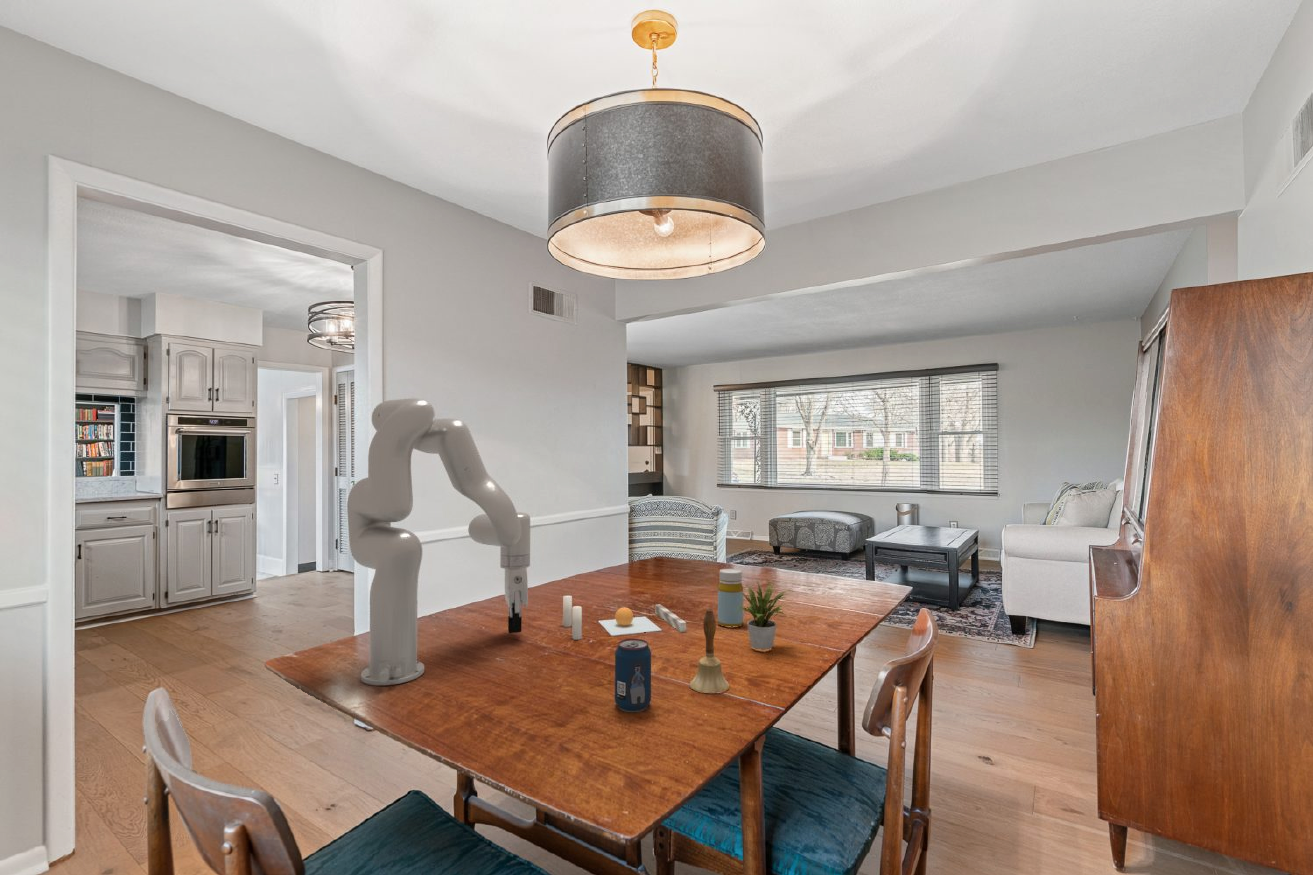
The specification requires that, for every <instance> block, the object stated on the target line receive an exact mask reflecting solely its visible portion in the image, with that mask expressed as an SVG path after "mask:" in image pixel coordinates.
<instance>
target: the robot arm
mask: <svg viewBox="0 0 1313 875" xmlns="http://www.w3.org/2000/svg"><path fill="white" fill-rule="evenodd" d="M435 412H436V411H435V408H434V406H433V405H432V404H431V403H430V402H429V401H428V400H425V399H421V398H417V397H416V398H414V397H413V398H412V397H411V398H402V399H401V398H400V399H389V400H386V401H383V402H382V401H381V403H378V404H377V405H376V406H375V408H374V409H373V411H372V413H371V423H372V426H373V428H374V429H375V431H376V432H375V433H374V434H373V437H372V439H371V441H370V445H369V448H368V455H367V465H368V466H367V468H368V470H367V474H368V476H367V477H365V478H362V479H360V480H358V481H357V482H355V484H354V485H353V486H352V487H351V489H350V491H349V494H348V496H347V504H346V505H347V510H346V512H347V525H348V526H347V527H348V539H349V548H350V553H351V556H352V558H353V560H354V561H355V562H356V563H358V565H360V566H362V567H365V568H369V569H372V570H375V571H374V576H373V579H372V582H371V585H370V590H369V635H368V636H369V637H368V638H369V642H368V643H369V649H368V656H369V657H368V660H369V661H368V667H366V668H365V669H363V670H362V671H361V674H360V680H361V682H362V683H364V684H366V685H371V686H392V685H393V686H394V685H399V684H404V683H407V682H410V681H414V680H415V679H418V678H420V677H421V676H422V675H423V674H424V673H425V665H424V663H423V662H421V661H418V593H419V592H418V590H419V588H418V587H419V586H418V585H419V576H420V575H419V574H420V569H421V564H422V559H423V546H422V542H421V540H420V538H419V537H418V536H417V535H416V534H415V533H414V532H412V531H410V530H407V529H405V528H401V527H395V526H394V527H393V526H391V524H392V523H398V522H401V521H404V520H405V519H406V518H408V517H409V516H410V515H411V512H412V510H413V508H414V507H413V505H414V495H413V482H412V481H413V480H412V454H413V451H414V450H417V451H420V452H423V453H426V454H433V455H434V454H435V455H436V454H437V455H438V456H439V457H440V461H441V462H442V465H443V467H444V469H445V472H446V473H447V475H448V478H449V480H450V483H451V485H452V487H453V488H454V489H455V490H456V491H457V492H458V493H460V495H462V496H464V497H466V498H467V499H469V500H471V501H472V502H474V503H475V504H476V505H478V506H479V507H480V509H482V511H483V512H484V514H480V515H479V514H478V515H477V516H474V517H473V519H471V521H470V522H469V525H468V530H467V531H468V535H469V537H470V538H471V539H472V540H473V541H474V542H476V543H478V544H481V545H486V546H495V547H500V556H499V557H500V558H499V560H500V563H499V564H500V568H501V569H504V599H505V603H506V605H507V606H508V617H507V620H508V621H507V623H508V624H507V631H508V634H514V633H515V634H516V633H521V632H522V629H523V628H522V625H523V624H522V623H523V622H522V620H523V619H522V605H523V606H524V607H526V608H527V607H528V606H529V589H528V584H529V583H528V570H527V568H529V567H531V516H530V515H529V514H528V513H527V512H520V511H517V510H516V507H515V505H514V503H513V501H512V499H511V498H510V497H509V495H508V494H507V493H506V492H505V490H504V489H503V488H502V487H501V486H500V485H499V483H497V481H496V480H495V479H494V478H493V477H491V476H490V475H489V473H488V472H487V469H486V467H485V464H484V463H483V462H484V461H483V459H482V457H481V455H480V452H479V450H478V447H477V446H476V443H475V441H474V439H473V438H474V437H473V436H472V434H471V431H470V430H469V426H468V425H467V424H466V423H465V422H464V421H462V420H460V419H457V418H435V417H436V413H435Z"/></svg>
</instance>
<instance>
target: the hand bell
mask: <svg viewBox="0 0 1313 875" xmlns="http://www.w3.org/2000/svg"><path fill="white" fill-rule="evenodd" d="M702 627H703V635H704V637H705V656H703V657H702V658H700V659H699V661H698V668H697V671H696V673H695V674H696V675H695V676H694V678H693V679H692V680H691V681H690V683H689V688H690V689H691V690H692V689H693V690H692V691H694V690H695V691H694V692H696V691H697V693H699V692H700V694H703V693H717V692H721V691H724V690H726V689H728V688H729V686H730V683H729V682H728V681H727V680H726V679H725V677H724V674H723V671H722V662H721V660H720V659H719V658H717V657H715V649H714V648H715V647H714V638H715V635H716V631H717V629H716V628H717V622H716V618H715V615H714V611H713V609H712V608H709V609H708V608H707V609H706V610H705V615H704V617H703V625H702ZM729 689H730V688H729Z"/></svg>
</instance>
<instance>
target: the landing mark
mask: <svg viewBox="0 0 1313 875" xmlns="http://www.w3.org/2000/svg"><path fill="white" fill-rule="evenodd" d="M597 622H598V623H599V625H601V627H603V629H604V630H605V631H606V632H607V633H608V634H609V635H610V636H611V637H615V636H625V635H634V634H635V635H636V634H644V632H646V633H654V632H656V633H657V632H662V631H663V630H662V629H661V628H660V627H659V626H658V625H657V624H655V623H654V622H653V621H651V620H650V619H649V618H648V617H647V616H635V617H634V616H633V620H632V622H631V623H630V624H629V625H628V626H621V625H619V624H618V623H617V622H616V619H615V618H614V619H603V620H598V621H597Z"/></svg>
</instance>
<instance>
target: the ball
mask: <svg viewBox="0 0 1313 875" xmlns="http://www.w3.org/2000/svg"><path fill="white" fill-rule="evenodd" d="M614 617H615V618H614V619H616V622H617V623H618V624H619V625H621V626H628V625H629V624H630V623H631V622H632V620H633V618H634V614H633V611H632V610H631V609H630V608H628V607H624V606H623V607H620V608H618V609H617V611H616V612H615V614H614Z"/></svg>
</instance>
